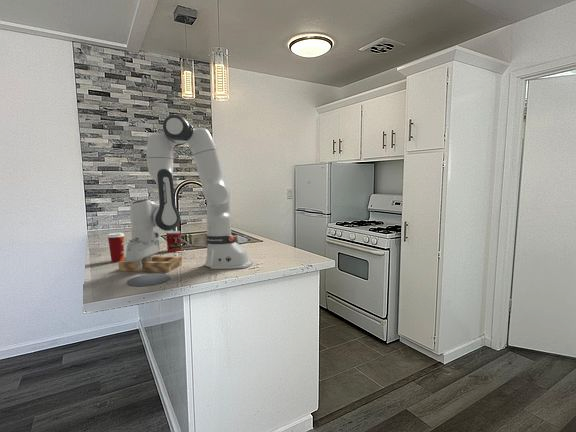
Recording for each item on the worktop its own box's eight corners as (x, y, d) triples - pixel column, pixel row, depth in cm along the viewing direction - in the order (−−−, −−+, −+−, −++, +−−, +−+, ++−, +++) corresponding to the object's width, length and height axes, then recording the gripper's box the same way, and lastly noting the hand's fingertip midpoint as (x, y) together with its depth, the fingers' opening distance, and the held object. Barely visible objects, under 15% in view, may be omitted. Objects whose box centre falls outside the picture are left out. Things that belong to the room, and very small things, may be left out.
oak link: (181, 264, 153) (181, 256, 153) (169, 271, 141) (168, 263, 141) (135, 263, 157) (134, 255, 156) (119, 270, 145) (118, 261, 145)
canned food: (169, 252, 181) (168, 233, 180) (165, 250, 188) (164, 231, 186) (183, 250, 186) (182, 231, 184) (179, 248, 192) (178, 230, 191)
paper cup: (128, 260, 163) (126, 233, 162) (111, 263, 158) (109, 235, 157) (123, 258, 169) (121, 231, 168) (107, 261, 164) (105, 233, 162)
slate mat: (177, 274, 137) (177, 273, 137) (156, 287, 121) (156, 286, 121) (142, 273, 139) (142, 273, 139) (117, 285, 123) (117, 284, 123)
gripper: (134, 240, 132) (137, 273, 133) (161, 232, 152) (163, 261, 153) (120, 240, 133) (123, 273, 134) (149, 232, 153) (151, 261, 154)
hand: (144, 266), depth 144 cm, fingers open, 5 cm apart
